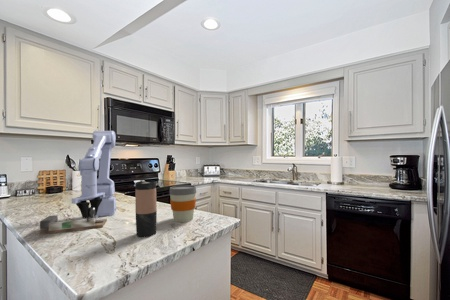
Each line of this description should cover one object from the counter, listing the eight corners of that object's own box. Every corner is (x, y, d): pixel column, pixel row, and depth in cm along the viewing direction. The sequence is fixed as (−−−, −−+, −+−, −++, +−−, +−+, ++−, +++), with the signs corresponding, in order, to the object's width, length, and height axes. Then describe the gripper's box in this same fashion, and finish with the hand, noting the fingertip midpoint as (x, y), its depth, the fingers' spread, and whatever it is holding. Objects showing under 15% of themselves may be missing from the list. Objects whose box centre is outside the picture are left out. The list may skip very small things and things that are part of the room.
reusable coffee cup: (192, 213, 109) (191, 184, 109) (200, 220, 98) (199, 187, 98) (167, 217, 104) (166, 186, 104) (172, 224, 92) (172, 190, 93)
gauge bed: (106, 221, 100) (106, 210, 100) (102, 227, 91) (102, 215, 91) (49, 227, 93) (49, 215, 93) (39, 234, 84) (39, 221, 84)
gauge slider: (98, 218, 97) (97, 205, 98) (93, 224, 89) (93, 210, 90) (87, 219, 96) (87, 206, 96) (82, 225, 88) (81, 211, 88)
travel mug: (161, 231, 85) (160, 180, 85) (148, 238, 78) (147, 183, 78) (145, 229, 87) (144, 180, 88) (131, 236, 80) (130, 183, 80)
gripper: (96, 182, 102) (96, 211, 102) (66, 187, 88) (66, 220, 88) (108, 183, 100) (108, 212, 100) (78, 188, 86) (79, 222, 86)
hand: (89, 216), depth 94 cm, fingers open, 4 cm apart
